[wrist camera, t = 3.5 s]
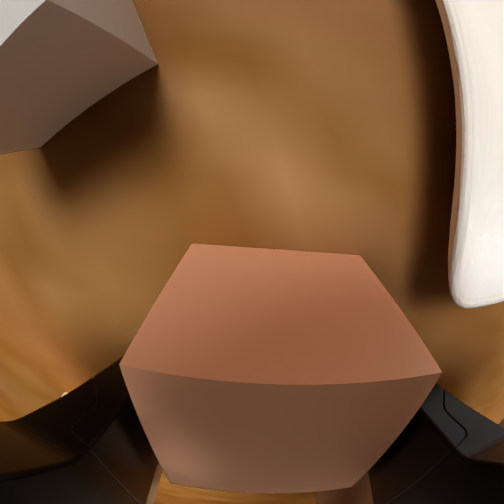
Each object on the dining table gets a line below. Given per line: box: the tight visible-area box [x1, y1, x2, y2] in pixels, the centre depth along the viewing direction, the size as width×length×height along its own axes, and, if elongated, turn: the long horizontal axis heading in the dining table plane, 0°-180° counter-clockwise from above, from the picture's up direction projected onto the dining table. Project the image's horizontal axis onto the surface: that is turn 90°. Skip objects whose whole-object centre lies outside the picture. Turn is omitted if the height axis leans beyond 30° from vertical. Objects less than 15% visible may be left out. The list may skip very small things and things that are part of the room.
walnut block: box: [316, 471, 373, 504], centre depth 10 cm, size 5×5×5 cm
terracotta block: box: [119, 244, 442, 493], centre depth 7 cm, size 5×5×5 cm
